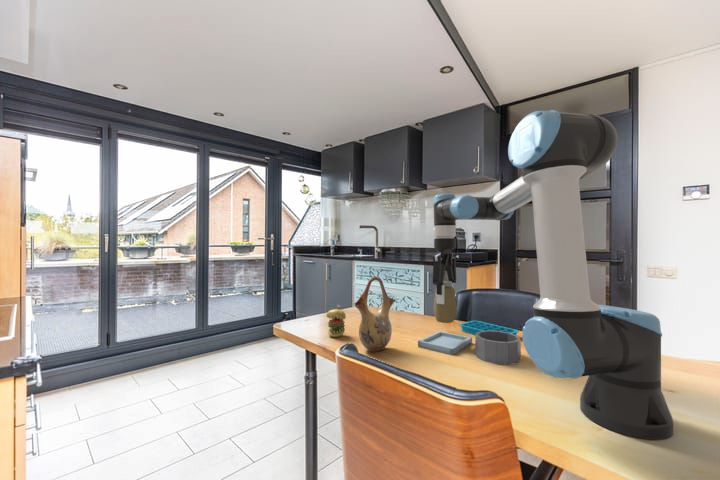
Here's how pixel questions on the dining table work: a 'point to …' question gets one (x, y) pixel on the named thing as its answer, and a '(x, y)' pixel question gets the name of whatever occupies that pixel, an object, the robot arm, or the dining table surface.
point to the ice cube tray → (484, 327)
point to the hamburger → (336, 322)
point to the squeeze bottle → (446, 303)
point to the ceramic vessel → (374, 320)
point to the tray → (445, 342)
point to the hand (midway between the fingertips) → (445, 302)
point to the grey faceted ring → (498, 347)
